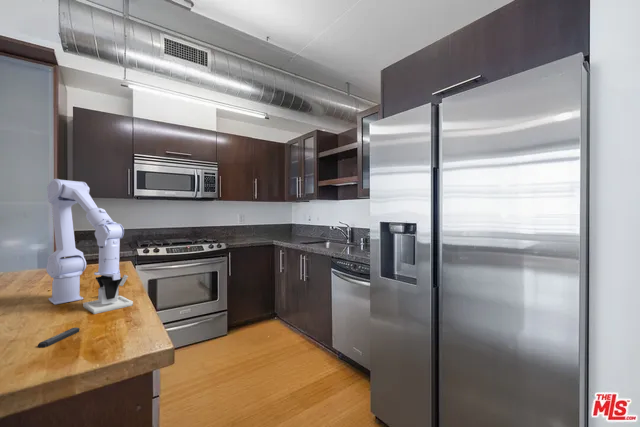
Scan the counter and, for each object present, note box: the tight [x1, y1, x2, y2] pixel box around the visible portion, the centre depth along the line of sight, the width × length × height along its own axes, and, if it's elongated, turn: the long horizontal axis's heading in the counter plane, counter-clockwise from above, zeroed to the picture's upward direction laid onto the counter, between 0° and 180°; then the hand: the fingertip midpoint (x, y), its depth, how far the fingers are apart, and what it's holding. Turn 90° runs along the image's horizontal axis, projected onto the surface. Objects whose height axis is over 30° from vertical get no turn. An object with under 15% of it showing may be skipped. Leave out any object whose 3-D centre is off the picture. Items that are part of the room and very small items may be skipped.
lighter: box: [118, 274, 129, 296], centre depth 108 cm, size 7×2×8 cm, turn 130°
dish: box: [82, 295, 134, 315], centre depth 97 cm, size 11×11×1 cm
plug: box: [97, 285, 118, 304], centre depth 97 cm, size 4×4×6 cm
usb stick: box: [37, 327, 80, 348], centre depth 72 cm, size 10×3×2 cm, turn 179°
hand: (108, 297), depth 97 cm, fingers closed on plug, 3 cm apart
